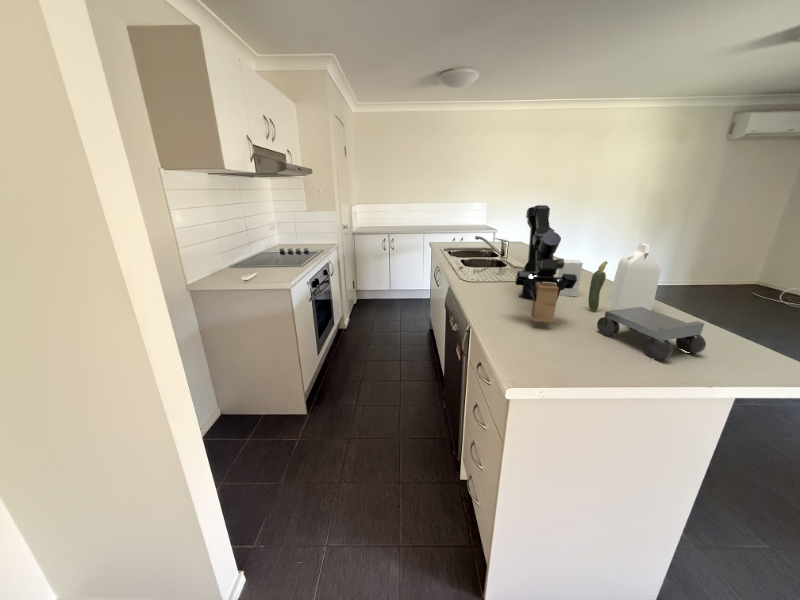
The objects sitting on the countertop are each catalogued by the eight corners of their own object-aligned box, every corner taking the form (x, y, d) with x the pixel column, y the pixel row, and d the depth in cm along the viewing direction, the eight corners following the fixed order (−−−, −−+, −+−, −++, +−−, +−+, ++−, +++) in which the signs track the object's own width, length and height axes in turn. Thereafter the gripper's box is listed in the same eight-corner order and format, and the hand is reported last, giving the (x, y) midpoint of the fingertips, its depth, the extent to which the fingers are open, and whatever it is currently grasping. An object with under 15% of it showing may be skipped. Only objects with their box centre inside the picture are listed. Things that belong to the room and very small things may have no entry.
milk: (650, 316, 119) (670, 247, 110) (615, 312, 122) (632, 246, 114) (639, 306, 129) (656, 242, 121) (607, 302, 133) (621, 241, 124)
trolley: (595, 331, 106) (601, 304, 103) (629, 326, 110) (636, 300, 107) (662, 363, 86) (673, 332, 83) (701, 356, 90) (712, 326, 87)
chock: (531, 314, 112) (536, 282, 108) (549, 316, 111) (554, 283, 107) (533, 320, 107) (538, 287, 103) (552, 322, 105) (558, 288, 101)
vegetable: (585, 311, 123) (596, 261, 117) (584, 308, 127) (594, 259, 120) (598, 313, 122) (610, 262, 115) (596, 309, 125) (608, 260, 119)
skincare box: (574, 293, 145) (581, 260, 140) (577, 297, 139) (584, 263, 134) (554, 291, 148) (560, 258, 143) (556, 295, 142) (562, 261, 137)
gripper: (520, 247, 107) (519, 288, 100) (581, 250, 102) (584, 292, 96) (515, 265, 116) (514, 303, 110) (570, 268, 112) (572, 308, 106)
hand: (545, 301), depth 105 cm, fingers closed on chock, 6 cm apart
